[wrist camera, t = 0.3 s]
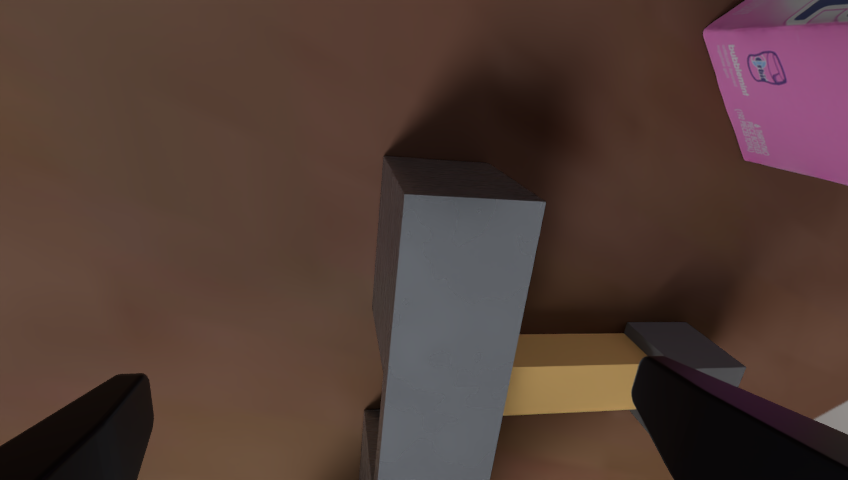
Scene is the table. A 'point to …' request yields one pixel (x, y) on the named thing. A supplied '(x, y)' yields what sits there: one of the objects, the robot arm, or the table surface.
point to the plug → (604, 367)
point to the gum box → (786, 82)
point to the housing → (446, 315)
